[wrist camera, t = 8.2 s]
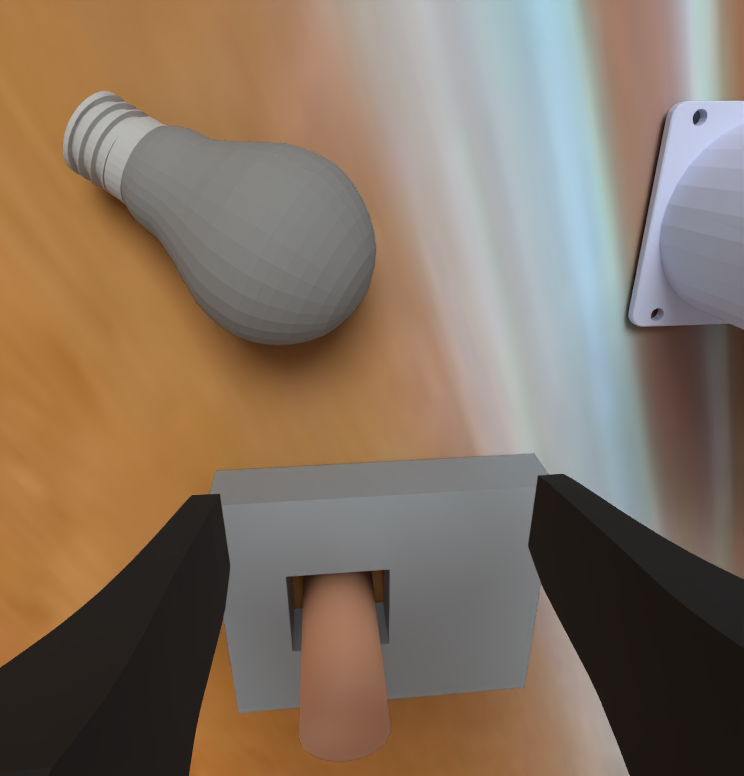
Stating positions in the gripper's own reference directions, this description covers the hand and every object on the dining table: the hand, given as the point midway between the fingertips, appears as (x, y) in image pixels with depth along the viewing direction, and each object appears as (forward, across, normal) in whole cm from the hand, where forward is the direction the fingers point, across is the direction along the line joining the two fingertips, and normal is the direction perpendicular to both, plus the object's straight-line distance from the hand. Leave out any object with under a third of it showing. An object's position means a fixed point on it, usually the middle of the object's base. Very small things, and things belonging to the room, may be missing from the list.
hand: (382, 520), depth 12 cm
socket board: (+10, -1, +11) cm, 15 cm away
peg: (+10, +1, +11) cm, 15 cm away
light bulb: (+9, +8, -8) cm, 15 cm away
